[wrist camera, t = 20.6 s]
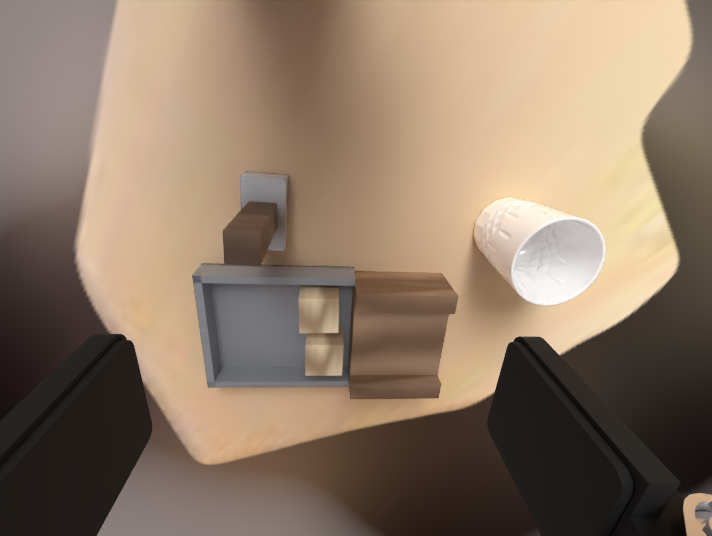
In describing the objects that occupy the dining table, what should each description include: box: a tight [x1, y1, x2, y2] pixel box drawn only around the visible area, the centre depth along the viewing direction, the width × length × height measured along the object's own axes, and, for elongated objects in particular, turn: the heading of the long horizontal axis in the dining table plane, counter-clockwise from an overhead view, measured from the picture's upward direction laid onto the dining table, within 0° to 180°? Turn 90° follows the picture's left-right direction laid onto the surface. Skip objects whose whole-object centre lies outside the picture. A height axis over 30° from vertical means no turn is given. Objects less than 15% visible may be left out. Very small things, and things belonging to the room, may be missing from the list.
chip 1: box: [298, 285, 339, 333], centre depth 38 cm, size 4×4×4 cm
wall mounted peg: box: [223, 171, 288, 266], centre depth 30 cm, size 7×4×12 cm, turn 175°
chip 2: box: [305, 325, 344, 376], centre depth 40 cm, size 4×4×4 cm
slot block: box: [348, 271, 458, 399], centre depth 39 cm, size 13×10×6 cm
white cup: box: [473, 197, 606, 306], centre depth 34 cm, size 8×8×10 cm
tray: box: [192, 264, 355, 388], centre depth 39 cm, size 14×16×3 cm
